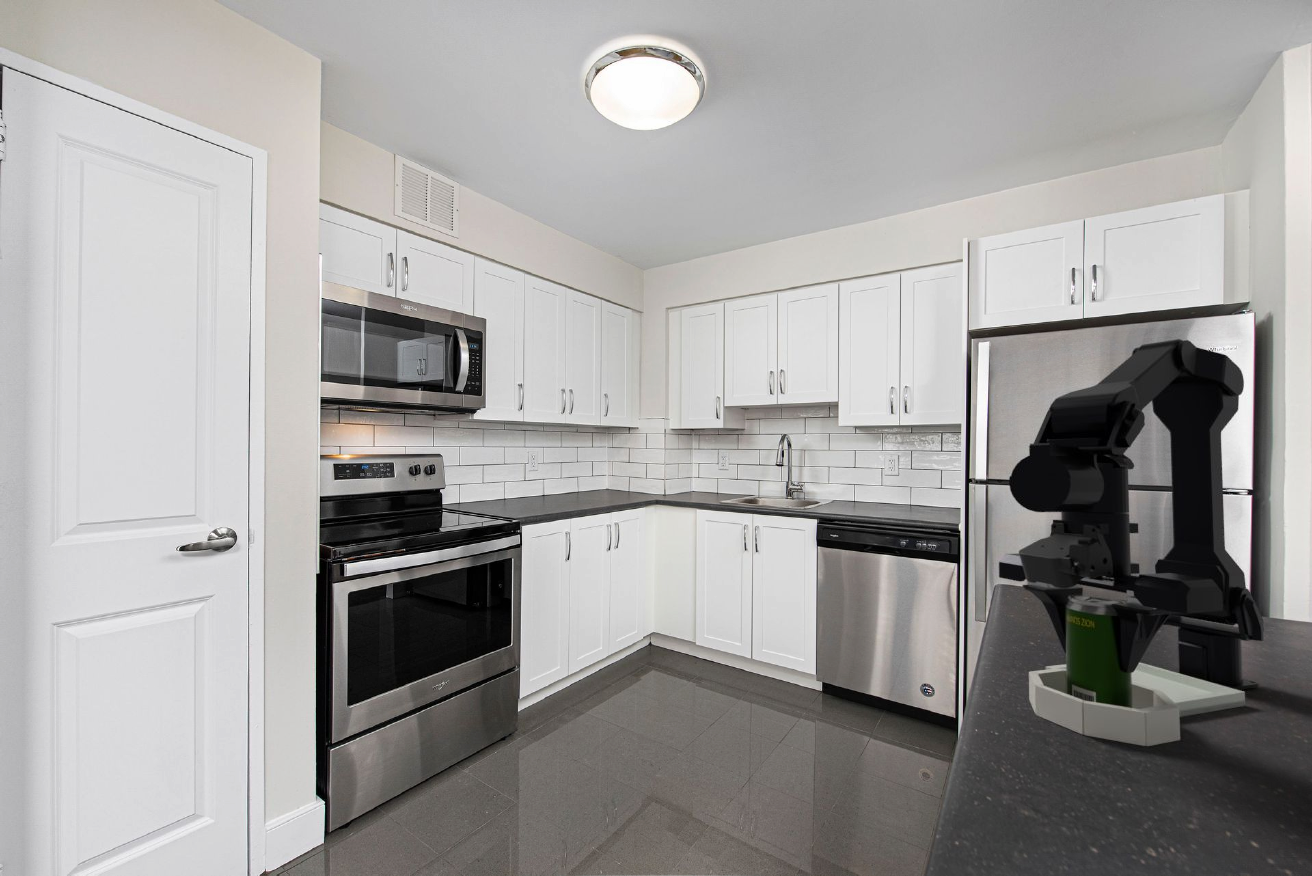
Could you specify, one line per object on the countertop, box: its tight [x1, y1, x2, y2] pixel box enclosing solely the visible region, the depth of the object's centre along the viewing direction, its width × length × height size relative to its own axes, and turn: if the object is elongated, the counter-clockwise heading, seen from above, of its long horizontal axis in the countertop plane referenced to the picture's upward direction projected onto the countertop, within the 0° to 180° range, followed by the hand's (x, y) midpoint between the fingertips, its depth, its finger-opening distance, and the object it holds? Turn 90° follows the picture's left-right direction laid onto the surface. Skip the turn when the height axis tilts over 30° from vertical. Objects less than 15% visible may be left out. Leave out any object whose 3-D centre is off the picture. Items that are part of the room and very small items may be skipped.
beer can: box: [1065, 594, 1132, 708], centre depth 60 cm, size 5×5×12 cm
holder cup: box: [1028, 668, 1181, 747], centre depth 60 cm, size 12×12×3 cm
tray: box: [1045, 661, 1246, 718], centre depth 68 cm, size 14×12×2 cm
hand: (1097, 663), depth 60 cm, fingers closed on beer can, 5 cm apart
